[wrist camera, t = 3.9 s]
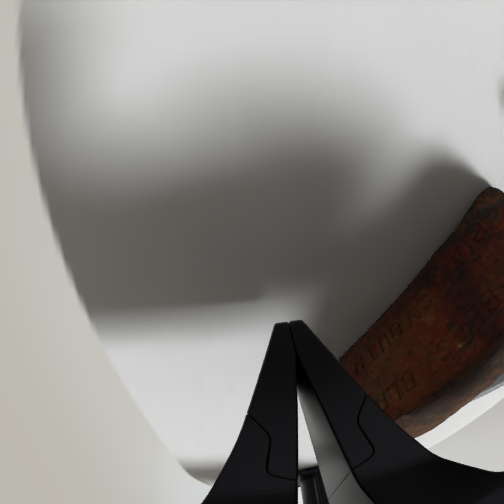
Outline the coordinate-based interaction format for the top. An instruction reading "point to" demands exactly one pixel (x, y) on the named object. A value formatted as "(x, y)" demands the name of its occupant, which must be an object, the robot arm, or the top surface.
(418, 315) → the brick
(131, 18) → the top surface
